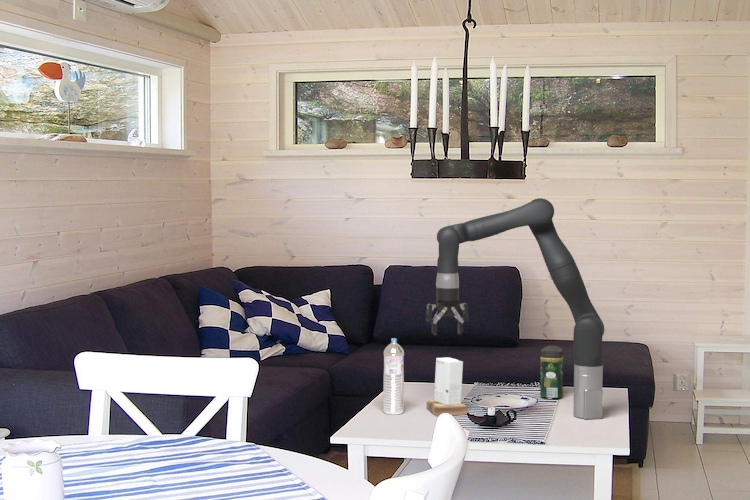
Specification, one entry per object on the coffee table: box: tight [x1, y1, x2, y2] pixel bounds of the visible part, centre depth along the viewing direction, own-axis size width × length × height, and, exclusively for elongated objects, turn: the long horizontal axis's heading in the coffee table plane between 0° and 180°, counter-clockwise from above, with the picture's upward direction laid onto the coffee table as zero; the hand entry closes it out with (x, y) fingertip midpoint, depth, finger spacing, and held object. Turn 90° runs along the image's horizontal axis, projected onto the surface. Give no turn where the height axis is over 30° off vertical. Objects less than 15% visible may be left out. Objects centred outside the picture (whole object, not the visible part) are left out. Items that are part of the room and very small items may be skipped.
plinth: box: [426, 399, 469, 417], centre depth 315 cm, size 11×11×3 cm
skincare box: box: [433, 356, 464, 405], centre depth 315 cm, size 8×6×15 cm
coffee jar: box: [539, 345, 564, 399], centre depth 339 cm, size 10×8×19 cm
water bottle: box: [382, 337, 405, 416], centre depth 313 cm, size 7×7×25 cm
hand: (447, 334), depth 314 cm, fingers open, 8 cm apart
